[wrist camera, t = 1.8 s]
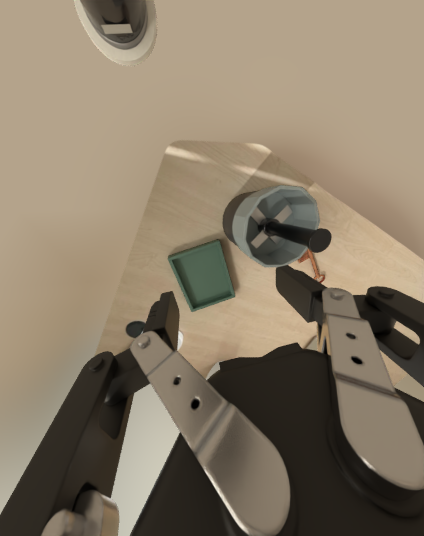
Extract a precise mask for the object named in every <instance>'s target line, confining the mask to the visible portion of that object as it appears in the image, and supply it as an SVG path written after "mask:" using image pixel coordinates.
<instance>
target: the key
mask: <svg viewBox="0 0 424 536" xmlns="http://www.w3.org/2000/svg"><path fill="white" fill-rule="evenodd" d="M307 252H308V253H307ZM306 254H307V255H306ZM308 255H309V257H308ZM303 256H304V257H305V259H304V257H303ZM308 258H310V259H311V262H312V265H313V268H314V271H315V274H316V277H315V278H314V279H316V278H318V279H319V277H320V276H323V279H322V280H321V281H320V282H319V283H321V282H323V281H324V279H325V276H324V275H319V273H318V269H317V267H316V264H315V261H314V258H313V254H312V251H310V250H309V249H307V251H306V252H305V253H304V255H302V257H301V258H300V260H299V259H298V261H299V263H301V262H303V261H305V260H306V259H308ZM301 260H302V261H301Z"/></svg>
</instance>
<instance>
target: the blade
mask: <svg viewBox="0 0 424 536" xmlns="http://www.w3.org/2000/svg"><path fill="white" fill-rule="evenodd" d="M291 213H292V210H291V209H290V208H289V206H288V205H286V206H285V207H284V208H283V209H282V210H281V211H280V212H279V213H278V214H277V215H276V216H275V217H274V218H267V217H265V216H264V215H263V214H262V212H261V211H260V210H259V209H258V208H257V207H256V208H255V210H254V211H253V213H252V214H251V217H252V218H253V219H254V220H255V221H256V222H257V224H258V231H259V232H260V233H259V234H258V235H257V236H256V237H255V238H254V239H253V240H252V241H251V242H250V243H251V244H252V245H253V246H254V247H255V248H256V249H257V248H258V247H259V246H260V245H261V244H262V243H263V242H264V241H265V240H266V239H267V238H268V237H270V238H271V239H272V240H273V242H274V243H275V244H276V245H277V244H278V243H279V242H280V241H281V240H282V239H286V240H289V241H292V242H295V243H297V244H300V245H303V246H306V247H307V248H308V249H309V250H310V251H312V252H315V253H318V252H322V251H323V250H325V249H326V248H327V247H328V246H329V244H330V242H331V233H330V232H329V231H328V230H327V229H322V228H320V229H316V230H313V229H308V228H303V227H298V226H293V225H288V224H283V223H282V222H283V221H284V220H285V219H286V218H287V217H288V216H289V215H290V214H291Z"/></svg>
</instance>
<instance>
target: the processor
mask: <svg viewBox="0 0 424 536" xmlns="http://www.w3.org/2000/svg"><path fill="white" fill-rule="evenodd" d="M286 205H288V206H289V208H290V209H291V210H292V213H291V214H290V215H289V216H288V217H287V218H286V219H285V220H284V221H283V222H282V223H283V224H288V225H293V226H298V227H303V228H308V229H313V230H316V229H318V226H319V223H320V219H319V213H318V208H317V202H316V200H315V199H314V198H313V197H312V196H311V195H310V194H309V193H308V192H307V191H306V190H305V189H304V188H303V187H297V186H286V185H279V186H274V187H269V188H264V189H261V190H259V191H255V192H249V193H244V194H241V195H239V196H237V197H235V198H234V199H233V200H232V201H231V202H230V203H229V204H228V206H227V207H226V209H225V212H224V215H223V229H224V232H225V234H226V236H227V237H228V239H229V240H230V241H232V242H233V243H234V244H235V245H237V246H238V247H239V249H240V250H241V251H243V252H244V253H245V254H246V255H247V256H249V257H250V258H251V259H253V260H254V261H256V262H257V263H259V264H260V265H262V266H264V267H280V266H285V265H288V264H290V263H292V262H294V261H296V260H298V259H300V258H301V257H302V255H303V254H304V253H305V252H306V251H307V249H308V248H307V247H306V246H303V245H300V244H297V243H295V242H292V241H289V240H286V239H282V240H281V241H280V242H279V243H278V244H277V245H276V244H275V243H274V242H273V240H272V239H271V238H270V237H268V238H267V239H266V240H265V241H264V242H263V243H262V244H261V245H260V246H259V247H258V248H257V249H256V248H255V247H254V246H253V245H252V244H251V243H250V242H251V241H252V240H253V239H254V238H255V237H256V236H257V235H258V234H259V233H260V232H259V231H258V224H257V222H256V221H255V220H254V219H253V218H252V217H251V214H252V213H253V211H254V210H255V208H256V207H257V208H258V209H259V210H260V211H261V212H262V214H263V215H264V216H265V217H267V218H274V217H275V216H276V215H277V214H278V213H279V212H280V211H281V210H282V209H283V208H284V207H285V206H286Z"/></svg>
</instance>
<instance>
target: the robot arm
mask: <svg viewBox="0 0 424 536" xmlns="http://www.w3.org/2000/svg"><path fill="white" fill-rule="evenodd" d="M80 2H81V4H82V6H83V9H84V11H85V13H86V15H87V17H88V19H89V21H90V23H91V24H92V26H93V28H94V29H95V31H96V32H97V33H98V34H99V36H100V37H101V38H102V39H103V40H104V41H106V42H107V43H108V44H110V45H111V46H113V47H115V48H118V49H123V50H127V49H132V48H134V47H136V46H137V45H138V44H139V43H140V42H141V41H142V39H143V37H144V35H145V32H146V28H147V21H148V13H147V5H146V0H80ZM276 288H277V290H278V292H279V293H280V294H281V295H282V296H283V297H284V298H285V299H286V300H287V301H288V303H289V304H290V305H291V306H292V307H293V308H294V309H295V310H296V311H297V312H298V313H299V314H300V315H301V316H302V317H303V318H304V319H305V320H306V321H307V322H308V323H309V322H313V321H316V322H317V347H318V351H315V350H310V349H302V348H301V347H300V345H299V344H298V343H293V344H289V345H285V346H281V347H278V348H276V349H275V350H273V351H271V352H269V353H268V354H266V355H264V356H263V357H239V358H235V359H231V360H227V361H223V362H219V365H220V370H218V371H217V372H216V373H214V374H213V375H212V376H211V377H210V378H209V379H208V380H206V379H205V378H204V377H203V376H202V375H201V374H200V373H199V372H198V371H197V370H196V369H195V368H194V367H193V366H192V365H191V364H190V363H189V362H188V361H187V360H186V359H185V358H184V357H183V356H182V355H181V354H180V353H179V352H178V351H177V344H178V330H179V316H180V315H179V308H178V305H177V302H176V299H175V297H174V294H173V292H172V291H170V292H166V293H162V294H161V297H160V301H157V302H155V303H154V304H153V306H152V307H151V309H150V313H149V315H148V318H147V321H146V324H145V327H144V330H143V333H142V334H141V335H139V336H138V337H137V338H135V340H134V341H133V342H132V344H131V347H130V348H129V349H127V350H126V351H124V352H122V353H120V354H118V355H116V356H114V355H113V354H112V353H111V352H108V351H107V352H102V353H100V354H98V355H96V356H95V357H93V358H92V359H91V360H90V361H88V362H87V364H85V366H84V367H83V369H82V370H81V372H80V374H79V376H78V377H77V379H76V381H75V383H74V385H73V386H72V388H71V390H70V392H69V393H68V395H67V397H66V399H65V401H64V402H63V404H62V406H61V408H60V409H59V411H58V413H57V415H56V417H55V418H54V420H53V422H52V424H51V425H50V427H49V429H48V431H47V433H46V434H45V436H44V438H43V440H42V441H41V443H40V445H39V447H38V449H37V450H36V452H35V454H34V456H33V457H32V459H31V461H30V463H29V465H28V466H27V468H26V470H25V472H24V474H23V475H22V477H21V479H20V481H19V483H18V484H17V486H16V488H15V490H14V491H13V493H12V495H11V497H10V498H9V500H8V502H7V504H6V505H5V507H4V509H3V511H2V513H1V515H0V536H118V527H119V510H118V506H117V504H116V503H115V501H114V500H112V499H111V494H112V490H113V485H114V481H115V476H116V472H117V467H118V463H119V459H120V453H121V450H122V445H123V441H124V436H125V432H126V427H127V423H128V418H129V414H130V409H131V405H132V401H133V396H134V393H135V392H137V391H138V390H140V389H141V388H143V387H145V386H146V385H148V384H151V385H152V387H153V389H154V390H155V392H156V393H157V395H158V397H159V398H160V400H161V402H162V403H163V405H164V406H165V408H166V410H167V411H168V413H169V415H170V416H171V418H172V420H173V421H174V423H175V424H176V426H177V428H178V429H179V431H180V433H179V435H178V437H177V440H176V441H175V444H174V446H173V448H172V450H171V452H170V454H169V456H168V458H167V460H166V462H165V464H164V466H163V468H162V470H161V472H160V474H159V477H158V479H157V481H156V483H155V485H154V487H153V489H152V491H151V493H150V495H149V497H148V499H147V501H146V503H145V505H144V507H143V509H142V512H141V513H140V515H139V518H138V520H137V522H136V524H135V526H134V528H133V530H132V532H131V534H130V536H424V402H422V401H421V400H419V399H417V398H415V397H412V396H410V395H408V394H406V393H404V392H402V391H400V390H398V389H396V388H394V386H393V384H392V381H391V379H390V376H389V373H388V371H387V368H386V366H385V363H384V360H383V358H382V355H381V353H380V350H381V351H382V352H383V353H384V354H386V355H387V356H388V357H389V358H390V359H391V360H393V361H394V362H395V363H396V364H397V365H399V366H400V367H401V368H402V369H403V370H404V371H406V372H407V373H408V374H409V375H410V376H412V377H413V378H414V379H415V380H416V381H417V382H419V383H420V384H421V385H422V386H423V387H424V303H422V302H420V301H418V300H416V299H414V298H412V297H410V296H408V295H406V294H403V293H401V292H399V291H397V290H394V289H391V288H387V287H379V286H376V287H370V288H369V289H368V290H367V294H366V295H352V294H351V293H349V292H348V291H346V290H343V289H339V288H327V287H325V286H324V285H322V284H321V283H319V282H318V281H316V280H315V279H313V278H311V277H310V276H308V275H307V274H305V273H304V272H302V271H299V270H294V269H293V268H291V267H290V266H288V265H285V266H280V267H277V268H276ZM396 321H398V322H400V323H401V324H403V325H404V326H406V327H408V328H409V329H411V330H412V331H414V332H415V333H416V334H417V335H418V336H419V338H420V344H419V345H418V344H417V343H415V342H414V341H412V340H411V339H409V338H408V337H406V336H405V335H403V334H402V333H400V332H399V331H397V330H396V329H394V328H393V327H394V325H395V323H396ZM379 349H380V350H379Z"/></svg>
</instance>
